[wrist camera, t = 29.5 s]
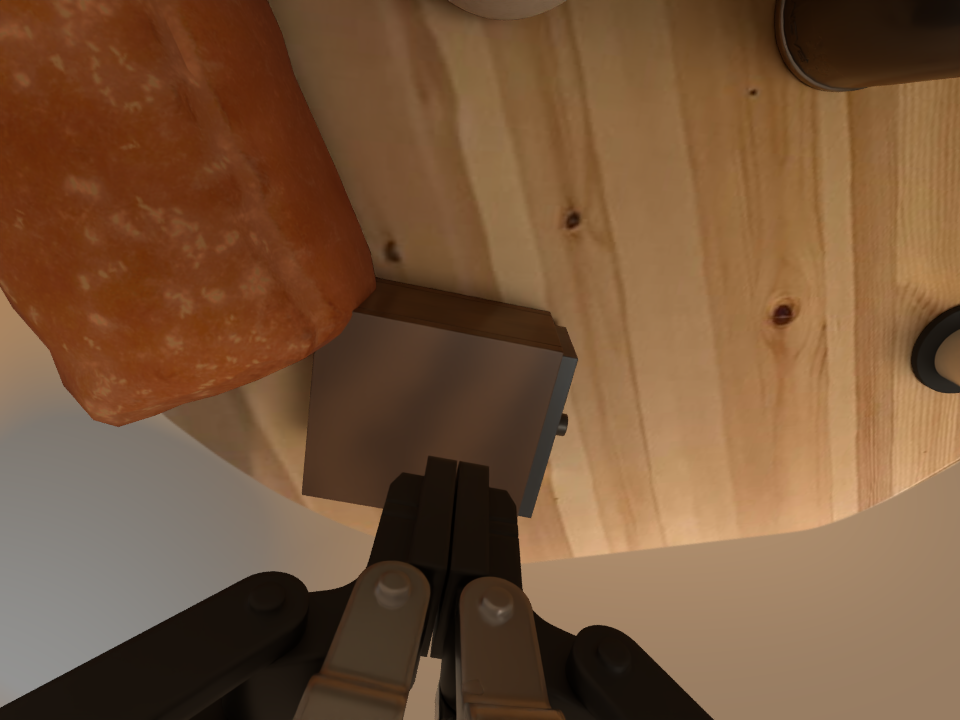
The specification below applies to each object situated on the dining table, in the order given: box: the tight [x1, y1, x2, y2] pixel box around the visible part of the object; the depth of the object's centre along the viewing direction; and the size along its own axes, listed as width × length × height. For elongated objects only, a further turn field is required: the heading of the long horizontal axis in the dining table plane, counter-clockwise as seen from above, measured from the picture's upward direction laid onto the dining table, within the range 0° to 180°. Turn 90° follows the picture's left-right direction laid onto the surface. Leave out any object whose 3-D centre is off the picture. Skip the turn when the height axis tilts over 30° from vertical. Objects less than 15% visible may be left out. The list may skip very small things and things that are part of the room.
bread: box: [0, 0, 376, 427], centre depth 29 cm, size 17×24×15 cm
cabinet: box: [302, 278, 564, 516], centre depth 38 cm, size 15×14×8 cm
